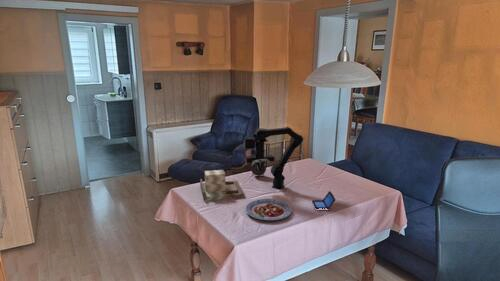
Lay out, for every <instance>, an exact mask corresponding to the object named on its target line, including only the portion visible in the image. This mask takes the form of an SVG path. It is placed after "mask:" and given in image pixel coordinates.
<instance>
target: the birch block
mask: <svg viewBox="0 0 500 281" xmlns="http://www.w3.org/2000/svg"><path fill="white" fill-rule="evenodd" d="M225 181H226V172H225V170H224V169H218V170H217V169H216V170H215V169H214V170H204V183H205V189H206V192H213V191H225Z"/></svg>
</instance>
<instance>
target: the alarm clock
mask: <svg viewBox="0 0 500 281" xmlns="http://www.w3.org/2000/svg"><path fill="white" fill-rule="evenodd" d="M259 163H260V160H259ZM250 171H251V173H252V175H253V176H254V175H255V176H257V178H259V177H261V176H265V173H266V172H267V164H266V163H264V165H263V167H262V169H261V171H258V168H257V165H256V164H255V163H254V161H253V162H252V163H251V165H250Z"/></svg>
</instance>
